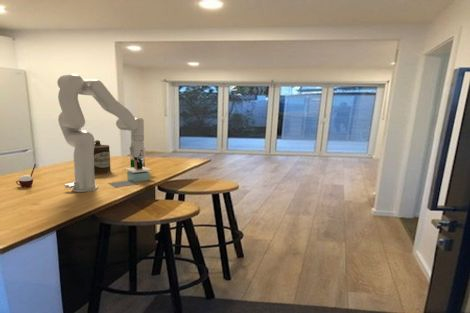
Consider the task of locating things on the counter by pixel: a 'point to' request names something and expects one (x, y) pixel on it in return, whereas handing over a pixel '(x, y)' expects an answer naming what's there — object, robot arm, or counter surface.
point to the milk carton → (133, 159)
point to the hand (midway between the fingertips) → (138, 167)
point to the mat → (122, 184)
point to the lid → (137, 169)
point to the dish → (138, 176)
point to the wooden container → (101, 158)
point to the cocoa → (26, 179)
